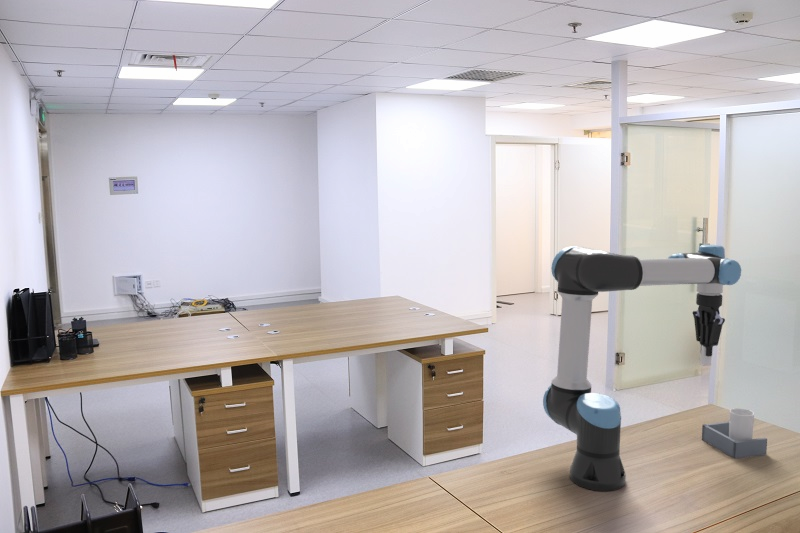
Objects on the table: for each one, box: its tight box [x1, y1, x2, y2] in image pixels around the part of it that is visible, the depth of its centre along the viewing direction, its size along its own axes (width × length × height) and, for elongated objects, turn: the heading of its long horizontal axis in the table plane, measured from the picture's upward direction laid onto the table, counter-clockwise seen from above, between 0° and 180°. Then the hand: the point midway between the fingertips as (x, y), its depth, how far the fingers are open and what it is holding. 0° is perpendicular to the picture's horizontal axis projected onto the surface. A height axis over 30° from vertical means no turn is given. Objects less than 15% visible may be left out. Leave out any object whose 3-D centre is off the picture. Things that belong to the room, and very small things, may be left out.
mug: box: [729, 407, 755, 441], centre depth 206 cm, size 10×7×12 cm, turn 174°
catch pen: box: [701, 421, 768, 460], centre depth 207 cm, size 11×15×5 cm
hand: (705, 364), depth 214 cm, fingers closed
